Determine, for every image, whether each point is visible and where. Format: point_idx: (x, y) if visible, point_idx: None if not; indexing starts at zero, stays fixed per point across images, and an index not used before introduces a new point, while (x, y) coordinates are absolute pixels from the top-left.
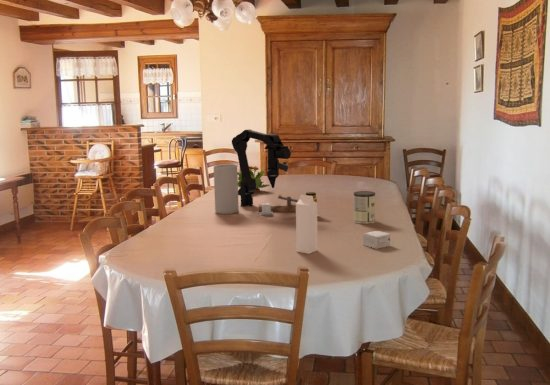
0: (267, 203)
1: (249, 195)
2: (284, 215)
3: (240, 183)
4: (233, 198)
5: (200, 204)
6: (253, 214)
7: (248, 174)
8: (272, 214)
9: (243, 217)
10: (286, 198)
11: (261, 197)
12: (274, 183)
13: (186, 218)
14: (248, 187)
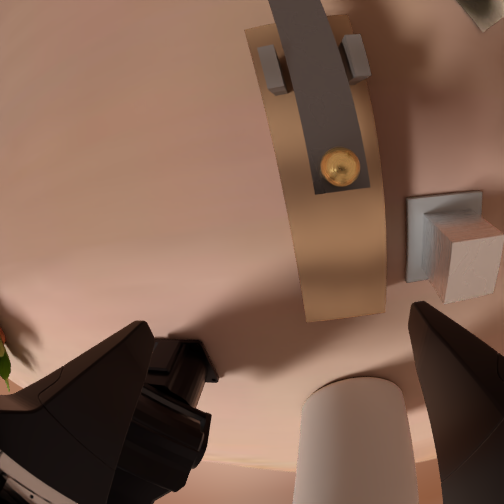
0: (462, 263)
1: (176, 392)
2: (483, 117)
3: (3, 370)
4: (406, 441)
5: (209, 451)
6: (435, 303)
7: (123, 501)
8: (479, 196)
9: (481, 329)
10: (348, 87)
11: (26, 302)
12: (478, 344)
13: (422, 445)
14: (194, 446)
